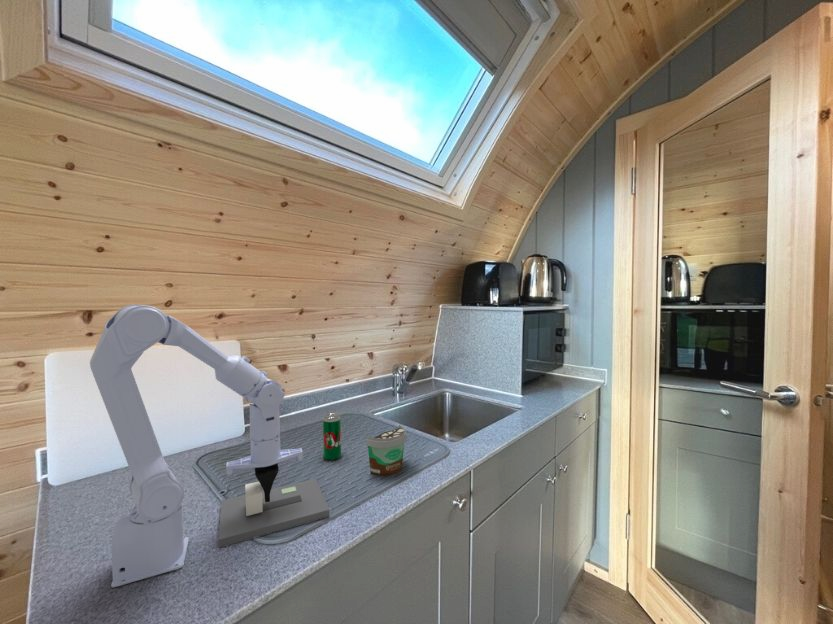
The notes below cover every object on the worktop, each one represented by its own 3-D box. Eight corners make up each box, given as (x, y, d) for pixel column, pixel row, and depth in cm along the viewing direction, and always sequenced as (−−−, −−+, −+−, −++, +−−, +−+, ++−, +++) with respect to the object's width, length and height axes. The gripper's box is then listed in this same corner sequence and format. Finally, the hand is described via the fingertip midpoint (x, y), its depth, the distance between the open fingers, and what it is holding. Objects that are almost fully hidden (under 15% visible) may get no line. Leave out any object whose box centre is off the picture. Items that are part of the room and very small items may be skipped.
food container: (382, 484, 86) (381, 443, 85) (365, 475, 90) (365, 437, 89) (416, 466, 95) (416, 429, 94) (400, 459, 99) (400, 424, 99)
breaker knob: (246, 516, 70) (245, 496, 70) (245, 503, 75) (245, 484, 74) (262, 512, 72) (262, 492, 71) (261, 499, 76) (260, 481, 76)
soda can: (334, 451, 104) (333, 411, 103) (345, 456, 101) (344, 415, 100) (319, 457, 100) (318, 415, 100) (330, 463, 97) (329, 419, 96)
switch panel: (218, 547, 64) (218, 539, 64) (221, 507, 77) (221, 499, 77) (329, 516, 73) (329, 509, 73) (316, 484, 86) (315, 478, 86)
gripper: (298, 423, 80) (300, 482, 81) (226, 435, 74) (228, 499, 75) (303, 434, 74) (305, 498, 75) (225, 448, 68) (227, 517, 68)
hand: (267, 499), depth 74 cm, fingers closed
